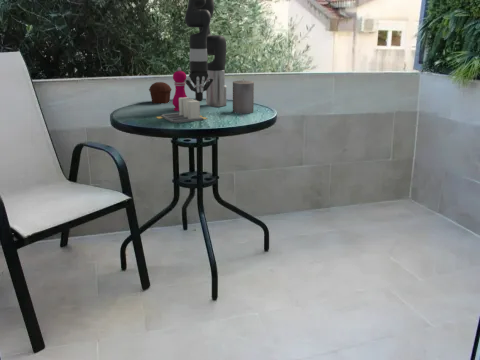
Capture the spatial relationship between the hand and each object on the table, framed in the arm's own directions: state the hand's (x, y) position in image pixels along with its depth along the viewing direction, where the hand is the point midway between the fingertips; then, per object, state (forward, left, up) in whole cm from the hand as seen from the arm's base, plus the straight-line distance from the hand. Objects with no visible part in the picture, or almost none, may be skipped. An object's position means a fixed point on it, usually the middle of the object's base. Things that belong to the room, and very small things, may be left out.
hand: (199, 101), depth 199 cm
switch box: (+10, +5, -7) cm, 13 cm away
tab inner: (+7, 0, -6) cm, 9 cm away
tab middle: (+7, +5, -6) cm, 10 cm away
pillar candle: (-23, -2, -7) cm, 24 cm away
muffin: (+2, -44, -7) cm, 44 cm away
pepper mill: (+3, -14, -7) cm, 16 cm away
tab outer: (+7, +10, -6) cm, 13 cm away
